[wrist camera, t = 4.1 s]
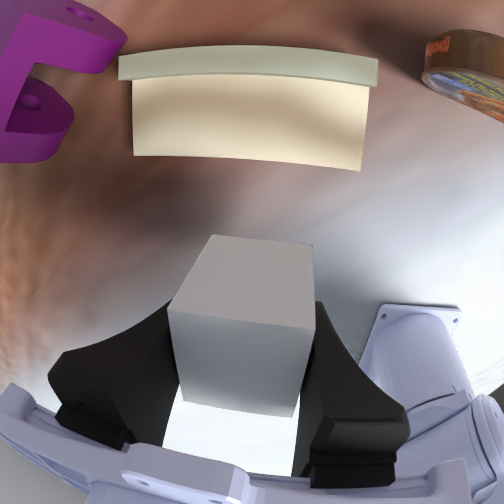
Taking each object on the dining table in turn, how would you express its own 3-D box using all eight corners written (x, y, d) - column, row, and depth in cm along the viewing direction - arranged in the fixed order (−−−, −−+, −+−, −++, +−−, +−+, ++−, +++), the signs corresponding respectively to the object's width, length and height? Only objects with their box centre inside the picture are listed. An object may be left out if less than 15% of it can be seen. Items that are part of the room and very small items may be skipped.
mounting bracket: (36, 59, 22) (71, 165, 19) (-27, 48, 14) (-34, 164, 11) (83, -14, 18) (144, 54, 15) (18, -36, 10) (24, 13, 7)
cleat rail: (355, 165, 18) (365, 178, 15) (144, 151, 20) (120, 161, 17) (365, 65, 15) (378, 59, 12) (144, 60, 17) (118, 56, 14)
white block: (296, 340, 16) (289, 426, 11) (214, 330, 17) (185, 410, 12) (312, 244, 14) (315, 328, 9) (211, 234, 14) (166, 308, 9)
